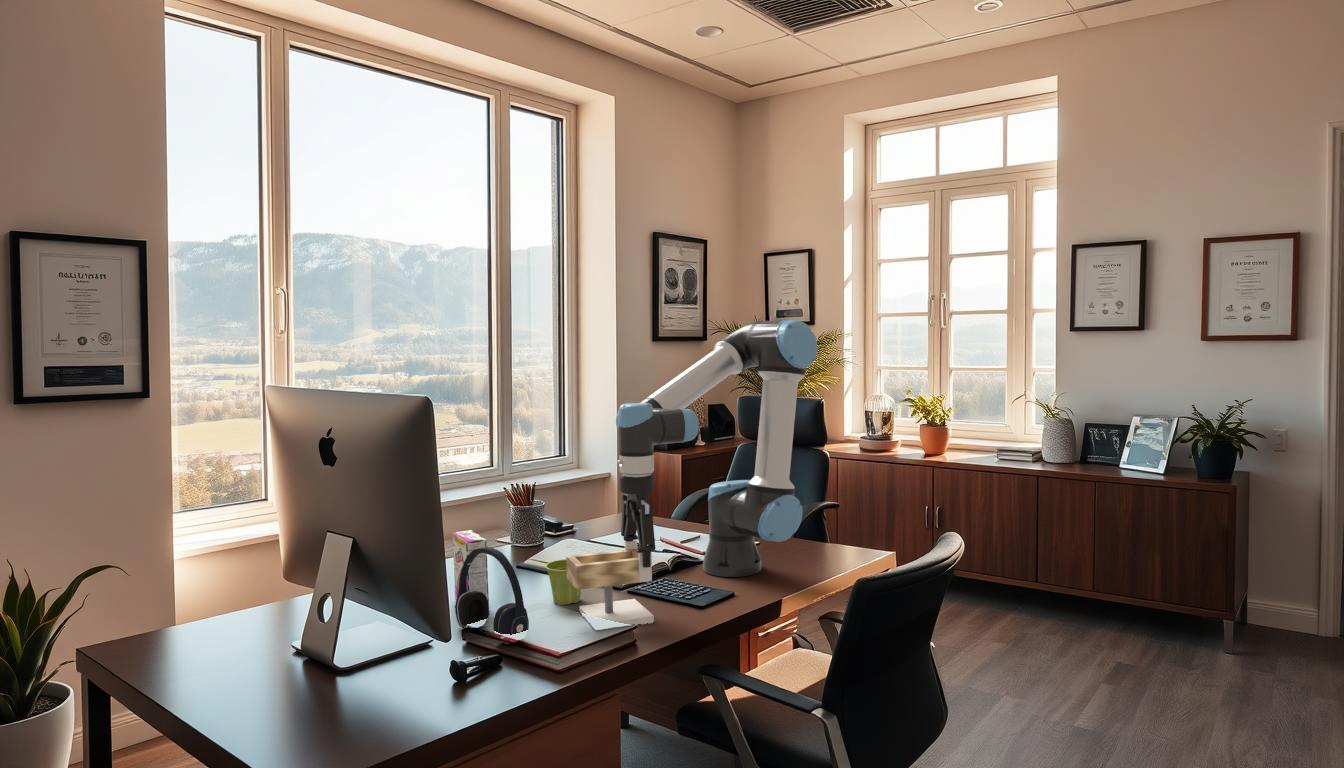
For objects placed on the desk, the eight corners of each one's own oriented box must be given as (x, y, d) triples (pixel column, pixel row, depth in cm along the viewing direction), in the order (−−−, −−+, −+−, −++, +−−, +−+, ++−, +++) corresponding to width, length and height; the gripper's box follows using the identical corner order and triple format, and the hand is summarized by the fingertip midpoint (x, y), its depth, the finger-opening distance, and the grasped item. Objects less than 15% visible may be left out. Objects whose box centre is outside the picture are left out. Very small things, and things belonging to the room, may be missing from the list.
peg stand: (634, 605, 200) (633, 555, 199) (653, 622, 188) (652, 569, 187) (579, 612, 195) (577, 561, 195) (595, 631, 183) (593, 576, 182)
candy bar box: (453, 601, 206) (451, 532, 205) (474, 597, 208) (472, 529, 207) (468, 613, 196) (465, 541, 195) (490, 609, 199) (487, 538, 198)
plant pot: (580, 608, 198) (579, 570, 198) (540, 606, 200) (539, 569, 200) (592, 595, 208) (591, 559, 207) (554, 594, 209) (553, 558, 209)
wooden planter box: (636, 570, 197) (635, 548, 197) (649, 581, 189) (648, 558, 189) (566, 578, 192) (566, 556, 191) (577, 589, 183) (576, 566, 183)
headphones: (449, 629, 186) (446, 544, 185) (477, 621, 191) (474, 538, 190) (507, 651, 173) (504, 560, 172) (534, 641, 178) (532, 553, 177)
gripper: (605, 468, 200) (607, 565, 202) (635, 483, 180) (637, 590, 181) (637, 466, 203) (638, 561, 204) (670, 480, 183) (671, 586, 184)
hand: (638, 575), depth 193 cm, fingers closed on wooden planter box, 9 cm apart
